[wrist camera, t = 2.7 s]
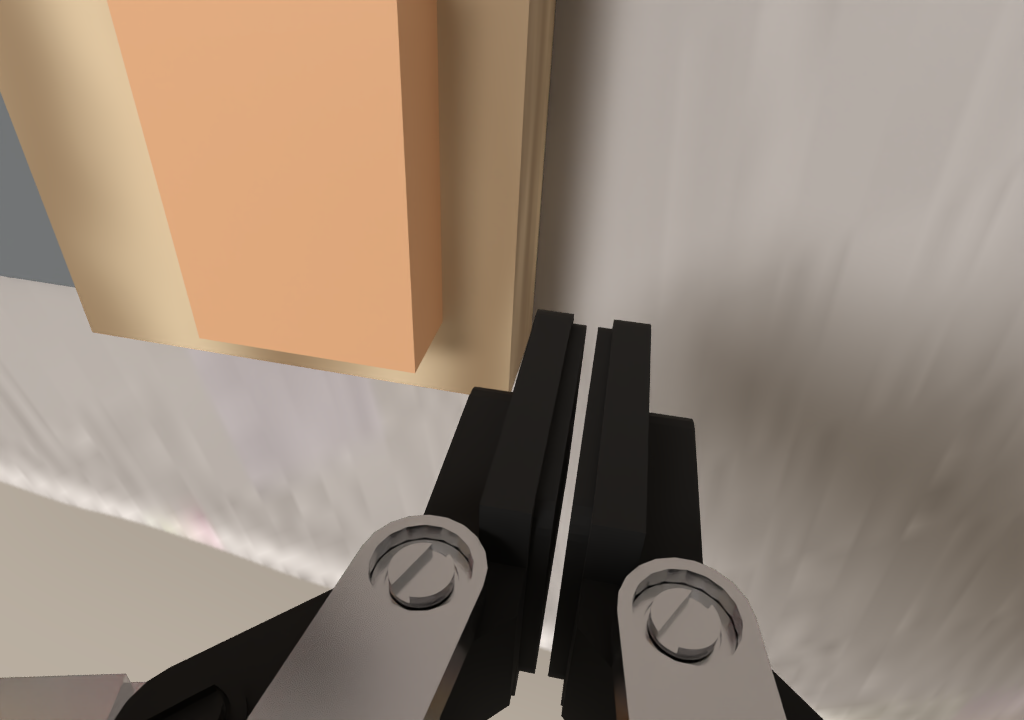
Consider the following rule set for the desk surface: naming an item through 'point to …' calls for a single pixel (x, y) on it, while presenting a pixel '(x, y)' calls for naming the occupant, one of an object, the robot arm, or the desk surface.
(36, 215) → the mat
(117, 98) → the tan flat square block
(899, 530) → the desk surface
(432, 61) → the orange rectangular block
